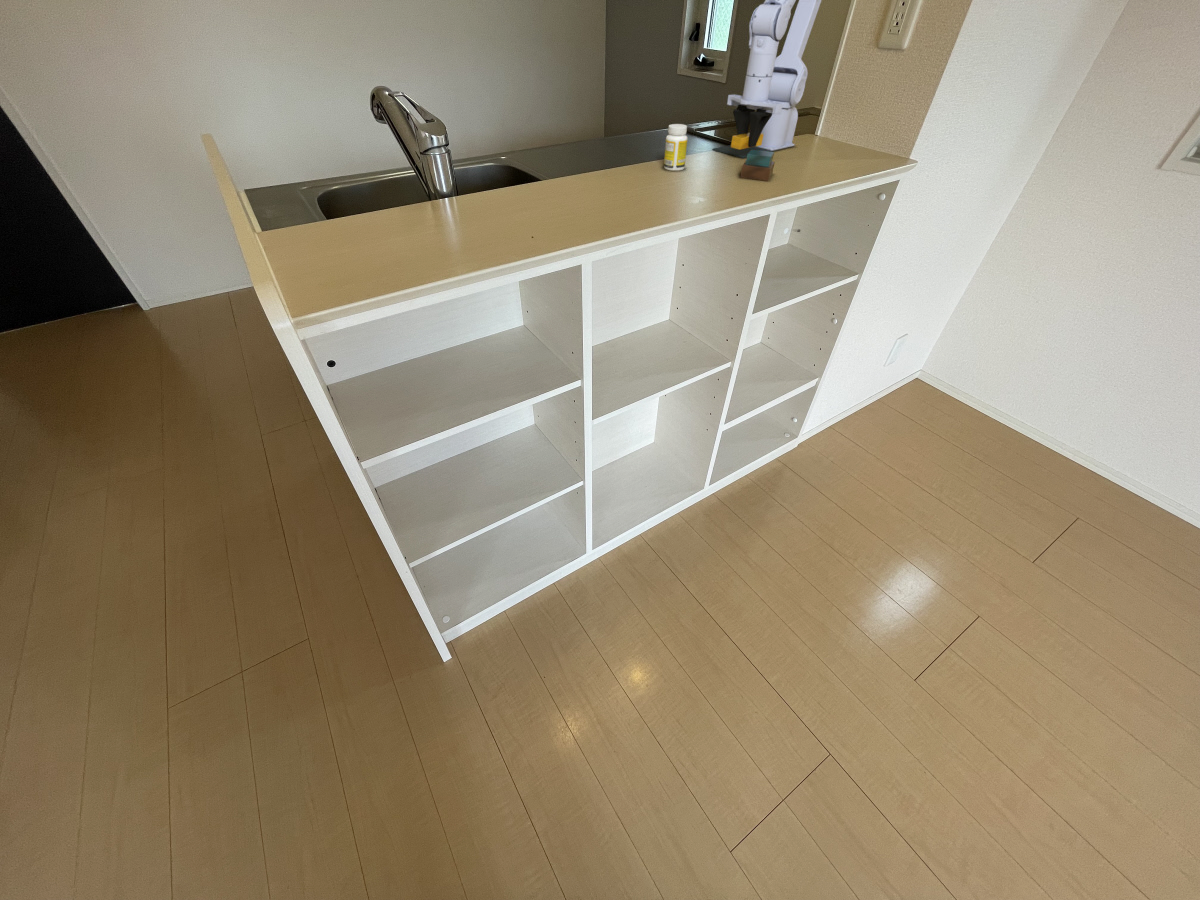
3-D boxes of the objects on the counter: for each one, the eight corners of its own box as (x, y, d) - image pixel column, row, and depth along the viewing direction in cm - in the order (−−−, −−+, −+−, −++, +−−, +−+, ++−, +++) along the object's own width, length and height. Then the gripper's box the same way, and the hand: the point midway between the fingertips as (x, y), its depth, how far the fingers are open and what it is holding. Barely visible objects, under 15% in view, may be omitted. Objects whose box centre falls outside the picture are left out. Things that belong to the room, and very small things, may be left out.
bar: (739, 149, 120) (741, 138, 118) (730, 147, 121) (732, 135, 120) (761, 145, 123) (763, 133, 122) (752, 142, 125) (754, 131, 123)
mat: (748, 142, 135) (749, 141, 135) (778, 150, 129) (779, 148, 129) (712, 149, 129) (712, 148, 129) (742, 158, 123) (742, 156, 123)
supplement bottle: (684, 166, 118) (688, 123, 112) (684, 171, 114) (689, 128, 108) (663, 165, 118) (667, 123, 112) (663, 170, 114) (667, 127, 109)
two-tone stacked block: (740, 177, 111) (744, 154, 108) (745, 170, 115) (749, 148, 112) (767, 181, 109) (772, 157, 106) (772, 174, 113) (777, 151, 110)
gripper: (722, 73, 115) (713, 141, 125) (773, 81, 107) (759, 153, 116) (743, 70, 119) (732, 137, 128) (794, 78, 110) (778, 149, 119)
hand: (746, 144), depth 122 cm, fingers closed on bar, 3 cm apart
